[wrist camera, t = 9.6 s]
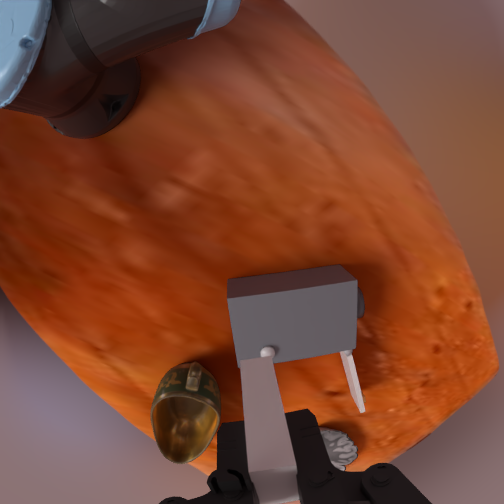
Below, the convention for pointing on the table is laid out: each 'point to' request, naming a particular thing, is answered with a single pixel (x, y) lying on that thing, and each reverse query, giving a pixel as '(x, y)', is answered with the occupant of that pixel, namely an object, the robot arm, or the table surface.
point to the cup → (185, 412)
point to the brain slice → (339, 447)
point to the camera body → (294, 313)
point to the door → (353, 379)
